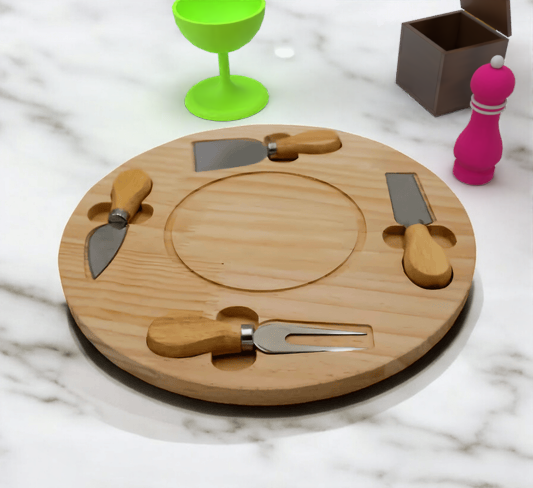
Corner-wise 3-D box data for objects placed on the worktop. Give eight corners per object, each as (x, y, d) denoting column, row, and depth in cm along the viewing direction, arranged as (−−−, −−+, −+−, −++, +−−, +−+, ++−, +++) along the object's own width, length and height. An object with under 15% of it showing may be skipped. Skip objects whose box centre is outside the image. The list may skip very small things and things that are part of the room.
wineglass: (271, 118, 117) (268, 21, 105) (182, 123, 117) (169, 27, 105) (266, 75, 129) (263, -17, 117) (186, 80, 129) (174, -12, 116)
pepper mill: (488, 193, 99) (517, 73, 86) (442, 179, 102) (464, 61, 89) (502, 168, 104) (532, 50, 90) (458, 155, 107) (481, 40, 93)
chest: (434, 117, 115) (444, 54, 107) (395, 82, 125) (401, 22, 117) (495, 101, 119) (509, 39, 111) (452, 68, 128) (462, 9, 120)
